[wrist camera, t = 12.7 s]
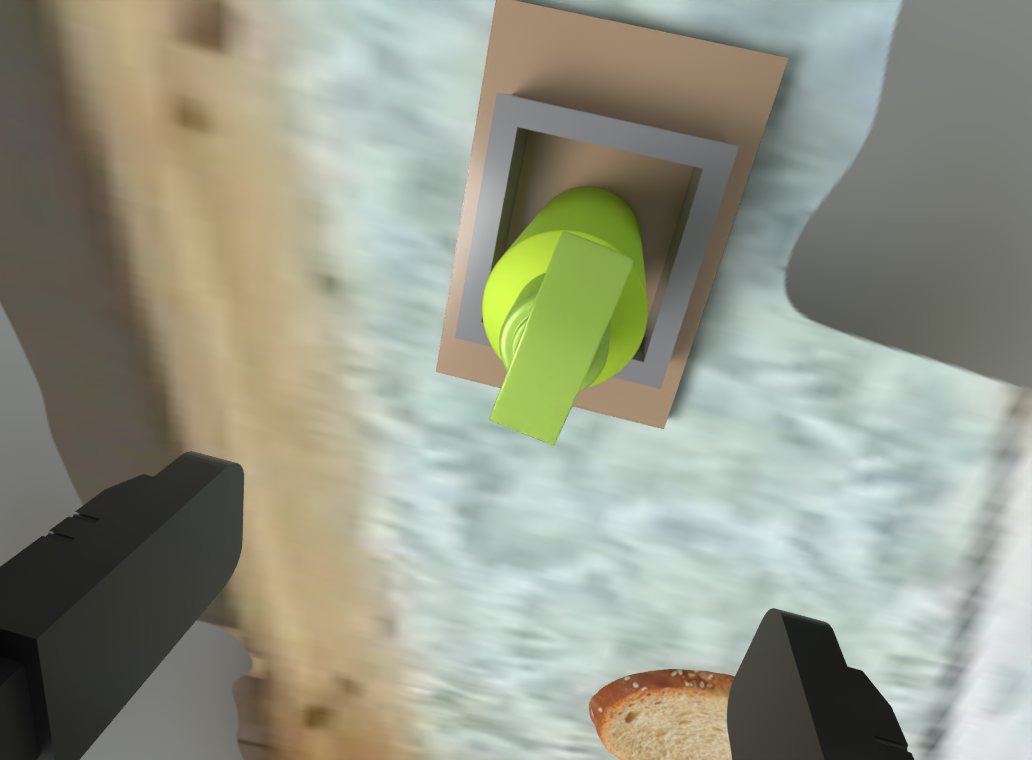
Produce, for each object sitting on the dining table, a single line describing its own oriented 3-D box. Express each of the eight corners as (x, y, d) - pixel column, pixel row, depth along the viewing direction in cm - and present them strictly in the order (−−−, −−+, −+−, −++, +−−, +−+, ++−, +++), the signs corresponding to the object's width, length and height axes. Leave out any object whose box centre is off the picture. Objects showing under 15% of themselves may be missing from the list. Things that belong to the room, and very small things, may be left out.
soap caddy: (502, 1, 32) (478, -19, 27) (781, 60, 31) (810, 51, 26) (442, 362, 41) (416, 398, 36) (662, 418, 40) (667, 463, 35)
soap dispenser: (668, 191, 33) (717, 295, 15) (614, 312, 36) (600, 522, 18) (561, 149, 33) (480, 201, 15) (516, 273, 36) (401, 442, 18)
